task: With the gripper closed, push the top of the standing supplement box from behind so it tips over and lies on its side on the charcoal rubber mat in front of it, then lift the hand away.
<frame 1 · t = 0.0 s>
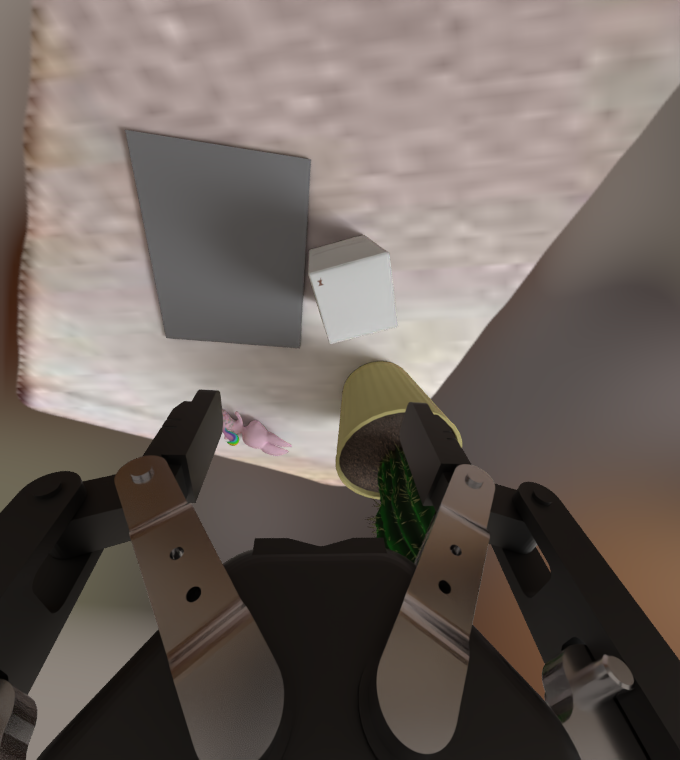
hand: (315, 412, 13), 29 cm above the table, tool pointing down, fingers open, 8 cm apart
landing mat: (230, 259, 36), on the table
supplement box: (343, 271, 38), on the table
rabbit figure: (249, 423, 50), on the table
potted cactus: (376, 390, 49), on the table
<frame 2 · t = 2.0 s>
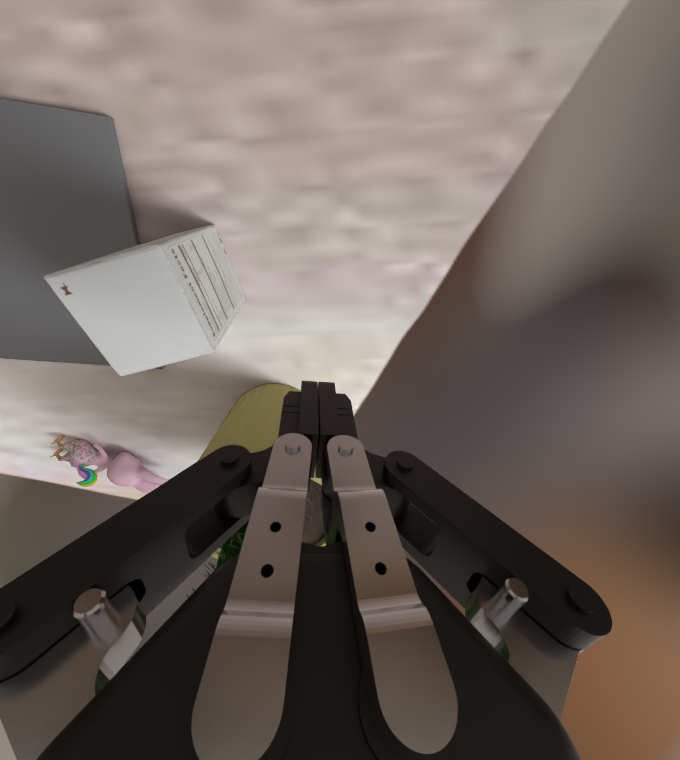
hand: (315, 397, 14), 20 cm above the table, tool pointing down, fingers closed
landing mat: (39, 255, 27), on the table
supplement box: (199, 272, 29), on the table
rabbit figure: (124, 454, 41), on the table
potted cactus: (276, 417, 40), on the table
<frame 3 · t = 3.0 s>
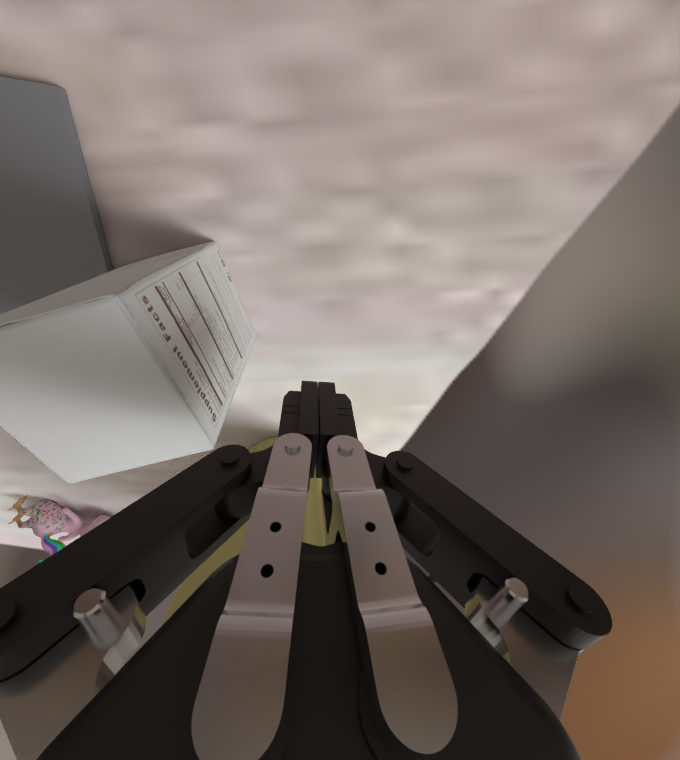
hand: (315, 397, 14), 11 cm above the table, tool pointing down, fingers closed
supplement box: (194, 303, 22), on the table
rabbit figure: (102, 515, 34), on the table
potted cactus: (291, 471, 32), on the table
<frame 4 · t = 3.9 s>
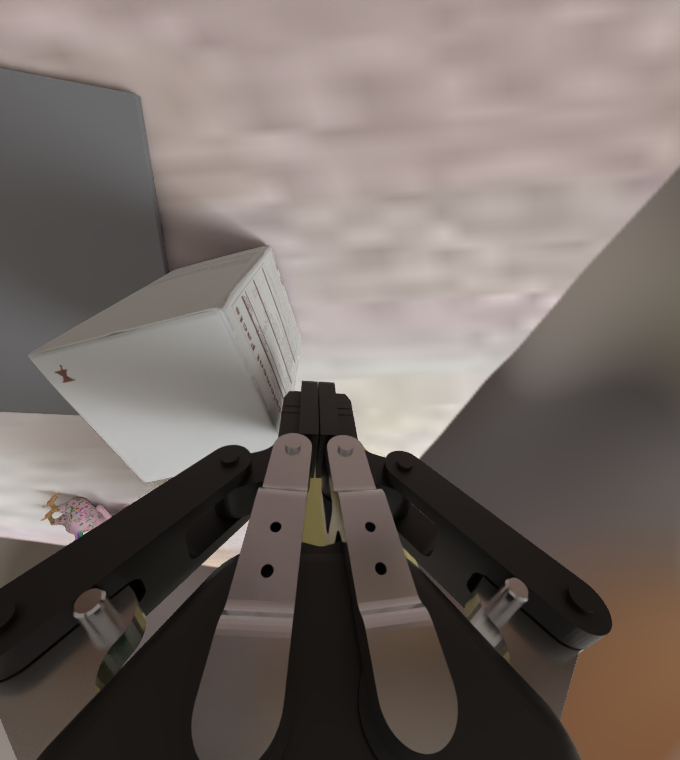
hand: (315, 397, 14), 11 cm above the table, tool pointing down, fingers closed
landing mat: (32, 284, 20), on the table
supplement box: (243, 305, 22), on the table, touching gripper
rabbit figure: (131, 512, 34), on the table
potted cactus: (322, 468, 33), on the table
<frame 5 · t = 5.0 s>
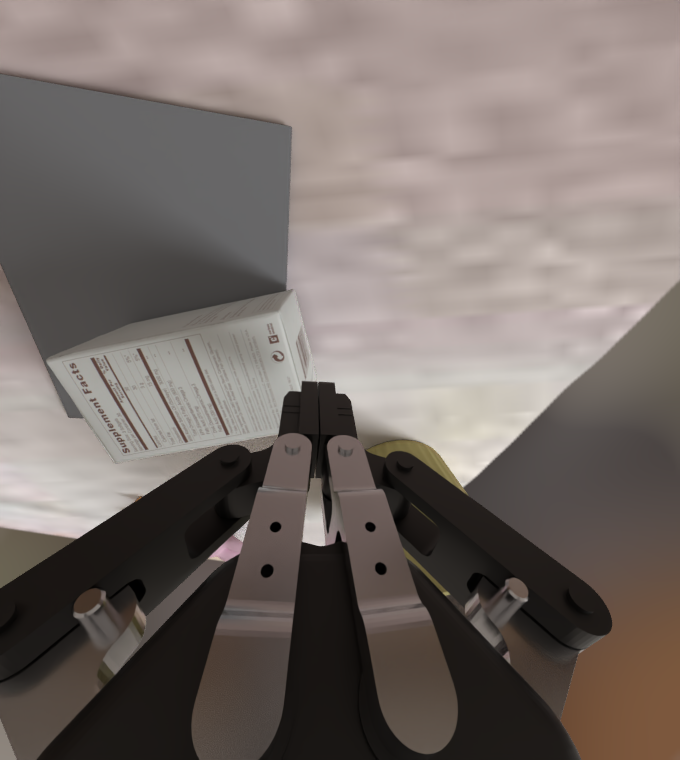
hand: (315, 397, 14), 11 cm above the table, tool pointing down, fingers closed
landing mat: (159, 300, 22), on the table
supplement box: (307, 352, 19), point 5 cm above the table, touching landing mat
rabbit figure: (204, 515, 35), on the table
potted cactus: (393, 474, 34), on the table
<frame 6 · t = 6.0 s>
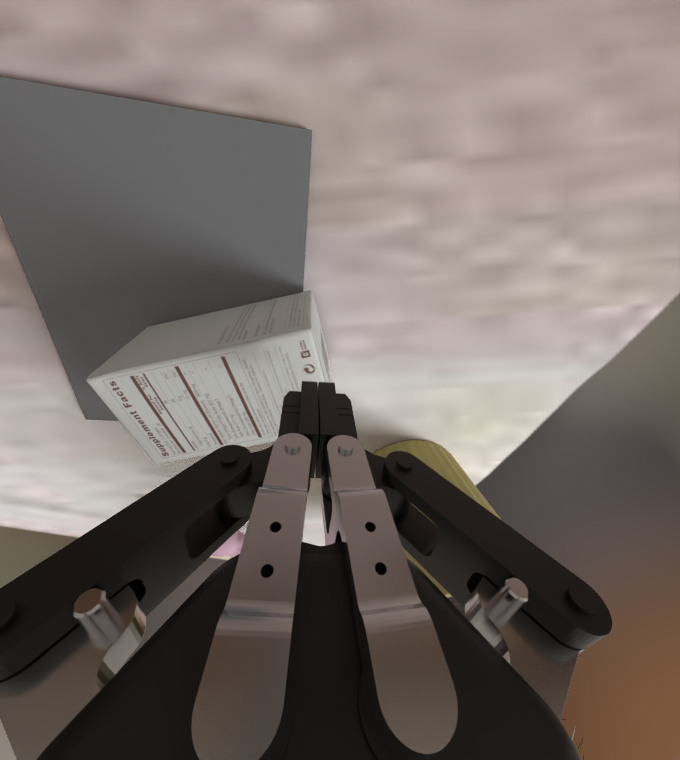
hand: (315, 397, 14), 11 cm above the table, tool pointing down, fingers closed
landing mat: (177, 303, 22), on the table
supplement box: (328, 355, 20), point 4 cm above the table, touching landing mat
rabbit figure: (215, 515, 36), on the table
potted cactus: (405, 474, 34), on the table
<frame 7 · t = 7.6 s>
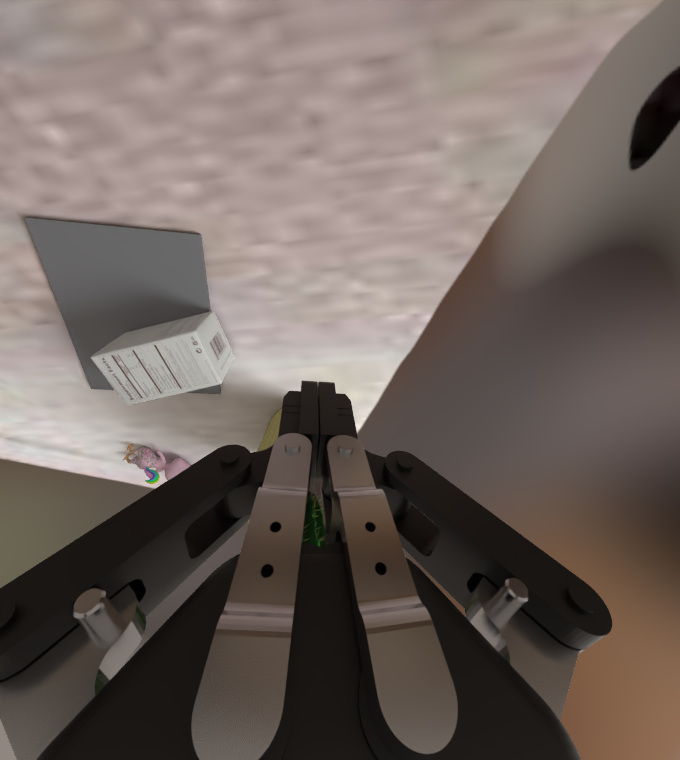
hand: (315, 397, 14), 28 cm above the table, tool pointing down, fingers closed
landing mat: (141, 319, 39), on the table
supplement box: (220, 345, 37), point 4 cm above the table, touching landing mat
rabbit figure: (175, 459, 53), on the table
potted cactus: (302, 427, 51), on the table
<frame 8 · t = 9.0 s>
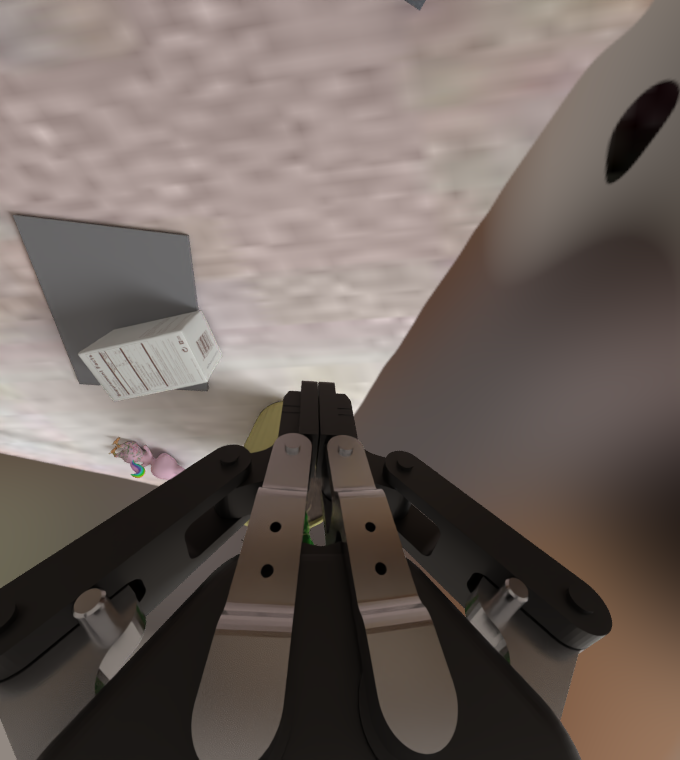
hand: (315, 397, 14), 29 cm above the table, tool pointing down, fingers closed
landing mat: (129, 316, 40), on the table
supplement box: (206, 344, 38), point 4 cm above the table, touching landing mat
rabbit figure: (162, 454, 54), on the table
potted cactus: (289, 425, 52), on the table
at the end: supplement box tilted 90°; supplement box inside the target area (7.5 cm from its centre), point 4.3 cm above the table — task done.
